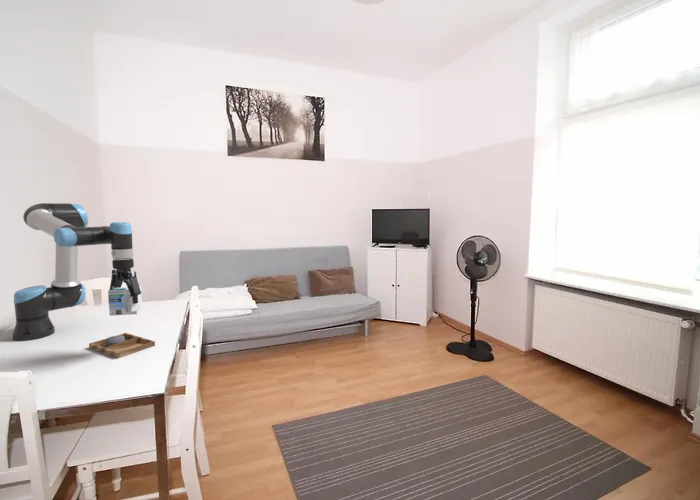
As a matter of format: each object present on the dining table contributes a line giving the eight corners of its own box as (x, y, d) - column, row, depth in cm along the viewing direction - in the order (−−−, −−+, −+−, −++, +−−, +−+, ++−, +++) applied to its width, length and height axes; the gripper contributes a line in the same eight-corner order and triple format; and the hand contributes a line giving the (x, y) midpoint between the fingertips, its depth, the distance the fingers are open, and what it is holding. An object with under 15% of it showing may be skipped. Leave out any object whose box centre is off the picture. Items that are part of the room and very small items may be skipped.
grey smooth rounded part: (102, 345, 155) (102, 339, 154) (119, 340, 161) (119, 334, 160) (111, 348, 151) (111, 342, 151) (128, 343, 157) (127, 337, 157)
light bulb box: (109, 316, 144) (107, 290, 143) (115, 311, 151) (113, 287, 150) (137, 314, 147) (136, 289, 146) (142, 310, 154) (141, 286, 152)
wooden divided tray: (89, 348, 152) (88, 343, 152) (126, 337, 166) (126, 332, 165) (118, 359, 141) (117, 353, 141) (155, 346, 155) (154, 341, 155)
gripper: (97, 257, 149) (101, 307, 151) (130, 261, 137) (133, 315, 140) (116, 256, 155) (119, 303, 158) (148, 259, 144) (151, 310, 146)
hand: (126, 308), depth 149 cm, fingers closed on light bulb box, 12 cm apart
